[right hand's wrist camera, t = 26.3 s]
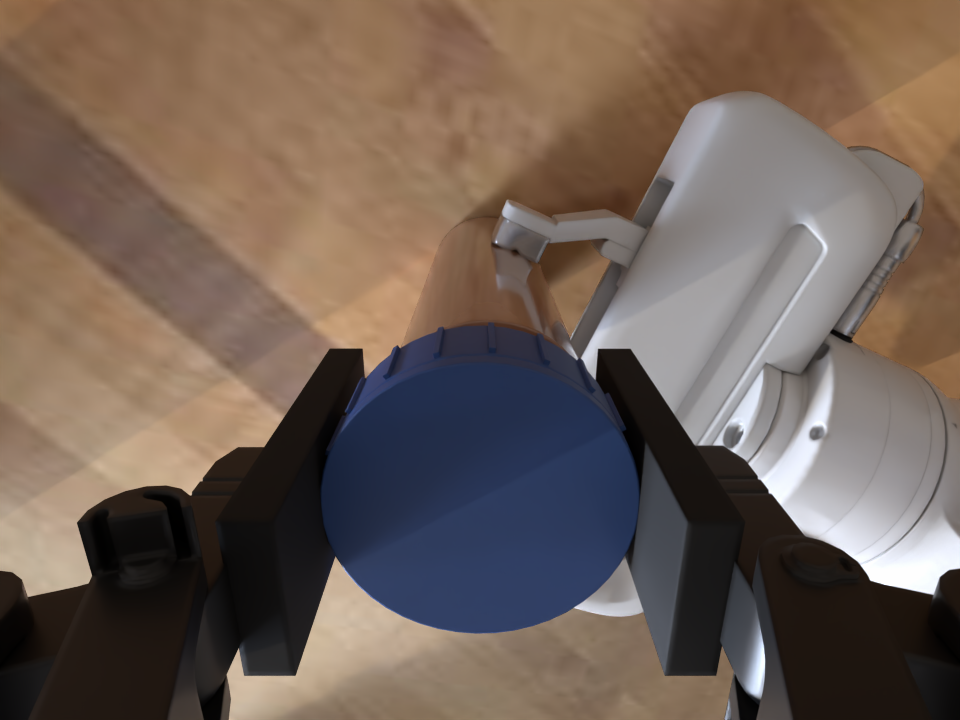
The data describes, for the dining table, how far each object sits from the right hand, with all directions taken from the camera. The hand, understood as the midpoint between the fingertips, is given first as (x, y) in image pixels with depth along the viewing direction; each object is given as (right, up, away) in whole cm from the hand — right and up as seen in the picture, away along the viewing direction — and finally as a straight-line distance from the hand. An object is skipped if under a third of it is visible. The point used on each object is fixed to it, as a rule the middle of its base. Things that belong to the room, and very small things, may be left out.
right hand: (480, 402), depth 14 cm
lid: (0, -1, -4) cm, 4 cm away
